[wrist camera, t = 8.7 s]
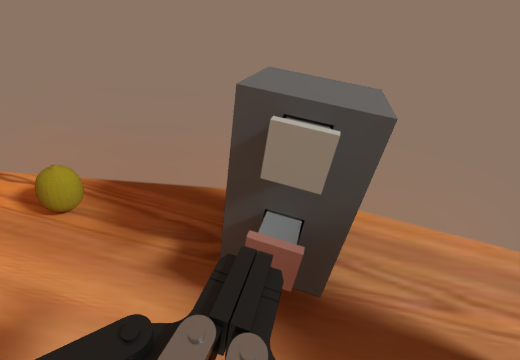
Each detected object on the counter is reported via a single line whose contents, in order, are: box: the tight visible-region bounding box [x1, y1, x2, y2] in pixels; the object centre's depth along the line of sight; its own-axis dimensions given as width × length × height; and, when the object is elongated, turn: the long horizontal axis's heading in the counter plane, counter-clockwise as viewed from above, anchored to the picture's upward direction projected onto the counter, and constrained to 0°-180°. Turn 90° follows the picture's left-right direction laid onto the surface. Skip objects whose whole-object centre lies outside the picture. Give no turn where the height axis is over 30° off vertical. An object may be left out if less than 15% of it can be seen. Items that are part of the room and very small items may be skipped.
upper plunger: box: [260, 115, 340, 194], centre depth 26 cm, size 9×6×6 cm, turn 164°
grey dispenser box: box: [220, 67, 397, 297], centre depth 34 cm, size 12×14×24 cm
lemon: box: [35, 165, 84, 212], centre depth 39 cm, size 6×6×8 cm
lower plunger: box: [245, 210, 305, 292], centre depth 30 cm, size 9×6×6 cm, turn 164°
